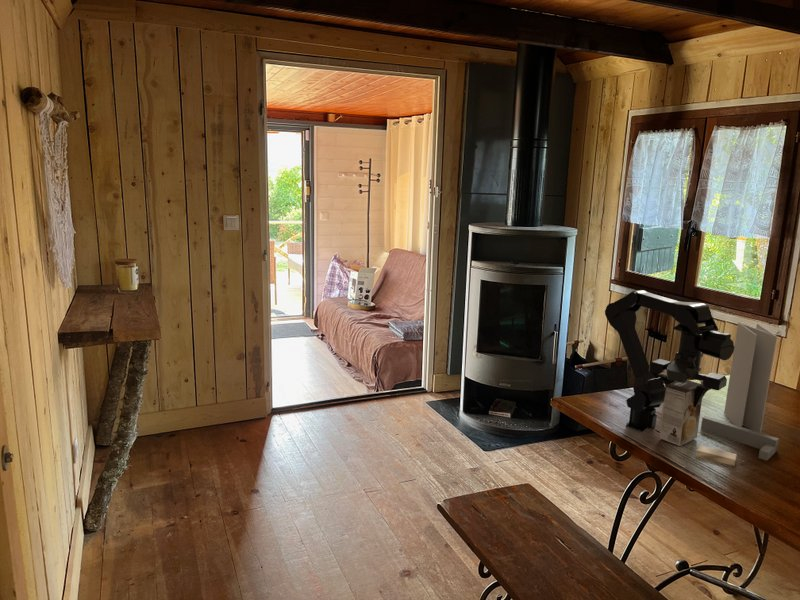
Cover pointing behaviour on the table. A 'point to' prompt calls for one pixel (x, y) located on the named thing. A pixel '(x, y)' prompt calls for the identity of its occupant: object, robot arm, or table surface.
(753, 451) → the table surface
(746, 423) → the brochure
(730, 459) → the offcut upper
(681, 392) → the coffee box
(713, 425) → the bracket
